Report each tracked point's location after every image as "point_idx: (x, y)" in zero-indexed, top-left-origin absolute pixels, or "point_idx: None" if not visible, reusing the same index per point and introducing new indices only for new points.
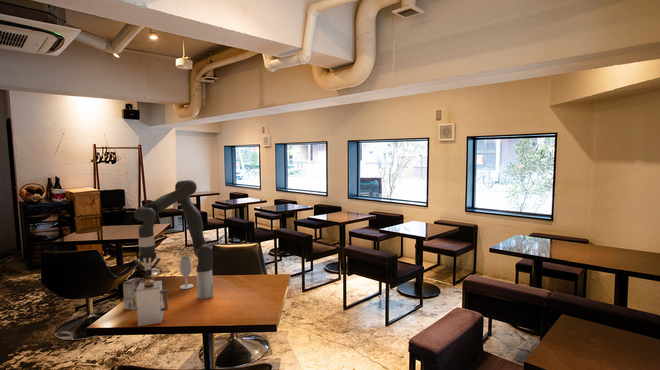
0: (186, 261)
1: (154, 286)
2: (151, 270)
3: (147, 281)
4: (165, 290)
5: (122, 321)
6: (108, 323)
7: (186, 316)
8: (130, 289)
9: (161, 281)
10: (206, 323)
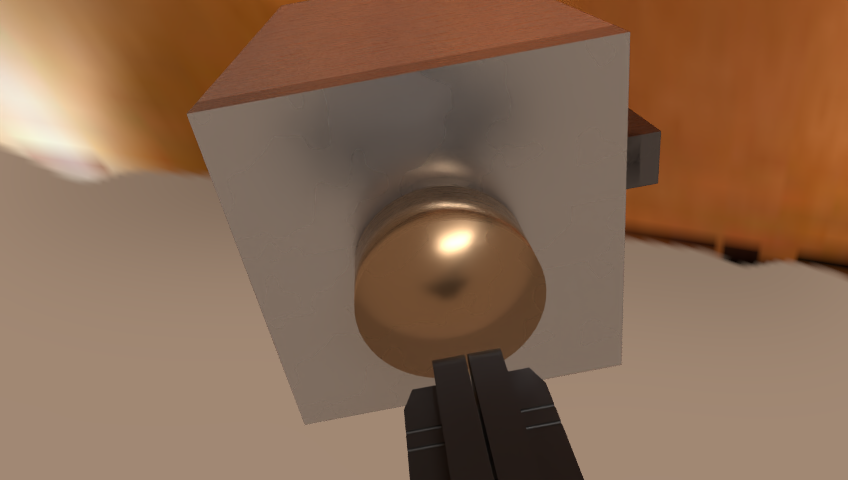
0: None
1: (544, 333)
2: (576, 477)
3: (425, 322)
4: (642, 168)
5: (129, 65)
6: (10, 85)
7: (693, 72)
8: None
9: (625, 73)
10: (817, 224)
